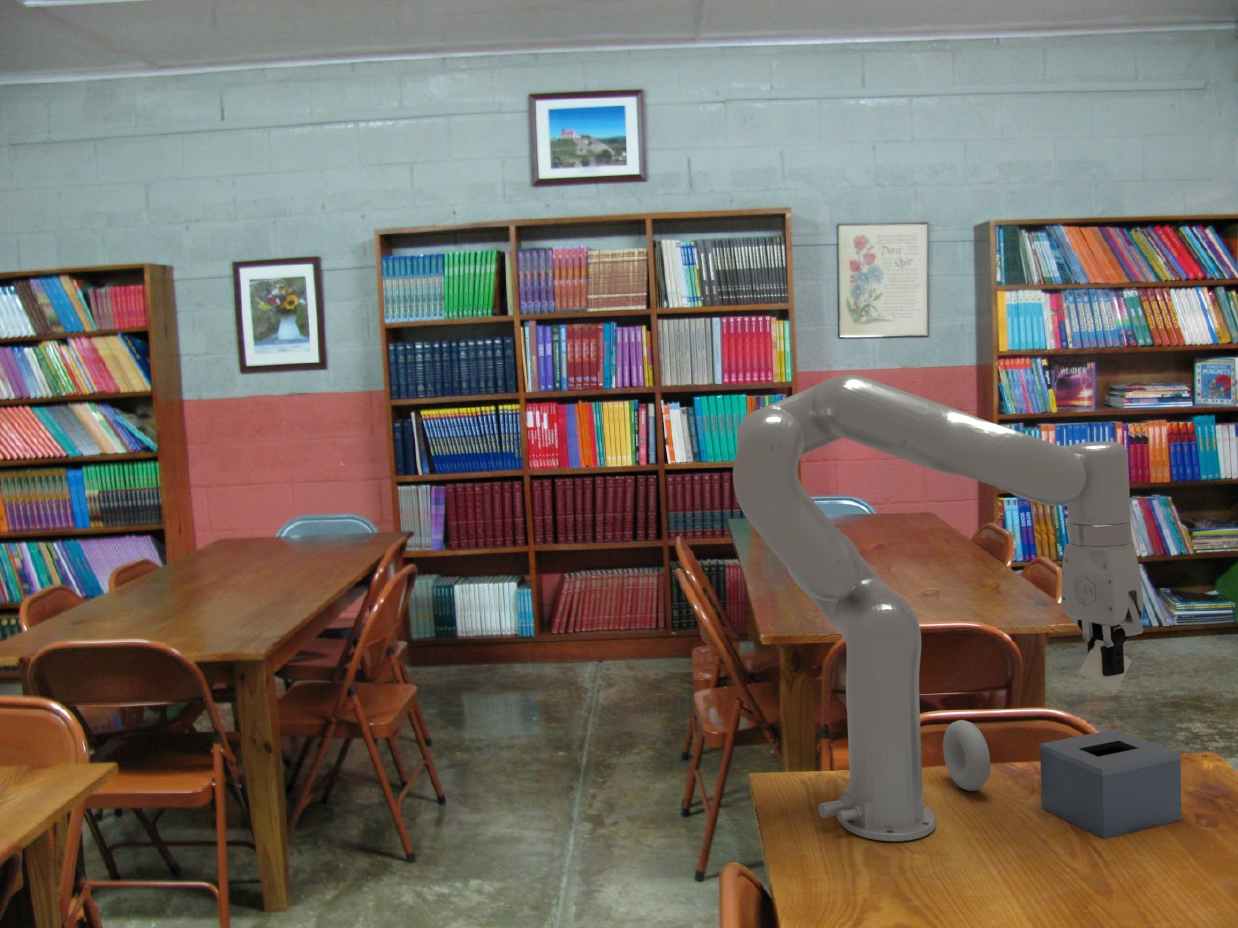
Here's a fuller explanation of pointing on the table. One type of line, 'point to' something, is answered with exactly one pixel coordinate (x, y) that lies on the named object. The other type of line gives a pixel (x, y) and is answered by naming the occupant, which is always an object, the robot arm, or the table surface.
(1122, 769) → the box
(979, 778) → the donut
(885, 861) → the table surface
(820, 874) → the table surface
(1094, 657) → the token
